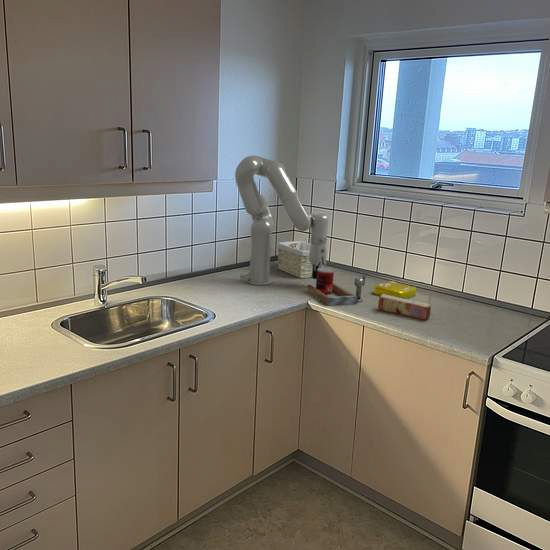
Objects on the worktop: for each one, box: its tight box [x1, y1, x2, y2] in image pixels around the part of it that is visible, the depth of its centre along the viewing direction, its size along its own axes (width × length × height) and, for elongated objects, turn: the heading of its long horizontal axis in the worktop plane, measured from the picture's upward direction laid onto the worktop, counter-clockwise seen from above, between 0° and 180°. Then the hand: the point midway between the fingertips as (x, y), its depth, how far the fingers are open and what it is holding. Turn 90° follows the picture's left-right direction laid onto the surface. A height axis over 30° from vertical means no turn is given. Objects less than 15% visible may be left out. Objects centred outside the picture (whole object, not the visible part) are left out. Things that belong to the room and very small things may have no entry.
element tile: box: [373, 280, 417, 300], centre depth 259 cm, size 15×15×5 cm
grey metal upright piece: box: [353, 275, 366, 303], centre depth 244 cm, size 4×4×11 cm
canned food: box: [315, 267, 335, 296], centre depth 254 cm, size 8×8×11 cm
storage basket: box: [277, 240, 325, 279], centre depth 288 cm, size 24×16×15 cm
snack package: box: [377, 294, 432, 321], centre depth 231 cm, size 21×7×7 cm, turn 60°
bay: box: [306, 283, 358, 307], centre depth 248 cm, size 14×22×4 cm, turn 21°
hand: (315, 278), depth 264 cm, fingers closed
